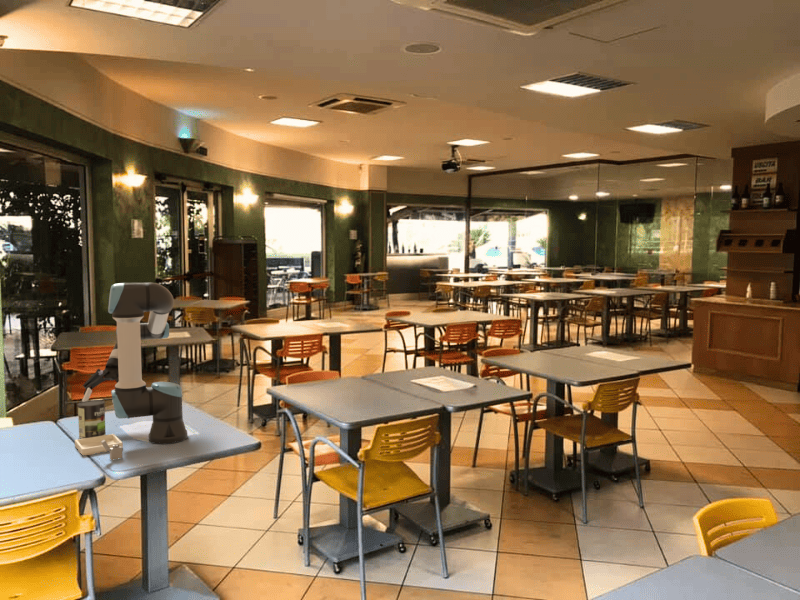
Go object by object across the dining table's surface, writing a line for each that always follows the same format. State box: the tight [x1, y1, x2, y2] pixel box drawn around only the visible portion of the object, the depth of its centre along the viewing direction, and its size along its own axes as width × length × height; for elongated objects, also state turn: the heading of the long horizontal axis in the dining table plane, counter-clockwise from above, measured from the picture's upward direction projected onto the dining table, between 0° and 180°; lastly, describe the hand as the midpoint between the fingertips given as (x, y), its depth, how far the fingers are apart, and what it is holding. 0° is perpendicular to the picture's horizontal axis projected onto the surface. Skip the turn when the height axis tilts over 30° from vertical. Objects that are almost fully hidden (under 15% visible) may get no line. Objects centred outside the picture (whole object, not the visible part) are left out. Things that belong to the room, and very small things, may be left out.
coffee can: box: [77, 399, 107, 439], centre depth 280 cm, size 10×10×14 cm
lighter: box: [101, 440, 123, 461], centre depth 250 cm, size 7×2×8 cm, turn 129°
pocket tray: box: [74, 433, 124, 456], centre depth 264 cm, size 15×15×3 cm
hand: (98, 402), depth 286 cm, fingers open, 13 cm apart
